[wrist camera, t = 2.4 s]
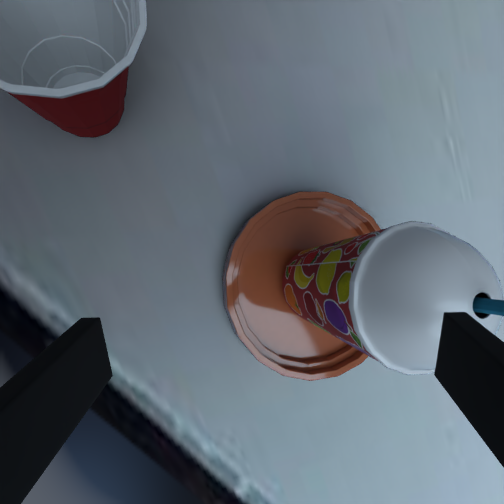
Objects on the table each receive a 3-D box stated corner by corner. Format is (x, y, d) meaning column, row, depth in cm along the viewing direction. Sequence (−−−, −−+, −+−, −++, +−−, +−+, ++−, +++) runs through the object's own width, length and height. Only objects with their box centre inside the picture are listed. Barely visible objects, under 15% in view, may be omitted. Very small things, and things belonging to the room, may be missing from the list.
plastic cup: (147, 180, 27) (129, 115, 15) (3, 153, 24) (-151, 50, 13) (165, 63, 28) (161, -83, 16) (28, 24, 25) (-96, -184, 13)
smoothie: (357, 258, 32) (654, 248, 12) (332, 337, 30) (614, 462, 11) (286, 227, 30) (502, 157, 10) (256, 310, 29) (437, 404, 9)
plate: (283, 162, 30) (292, 154, 28) (408, 257, 33) (424, 257, 31) (185, 314, 27) (186, 318, 25) (333, 402, 30) (345, 412, 28)
